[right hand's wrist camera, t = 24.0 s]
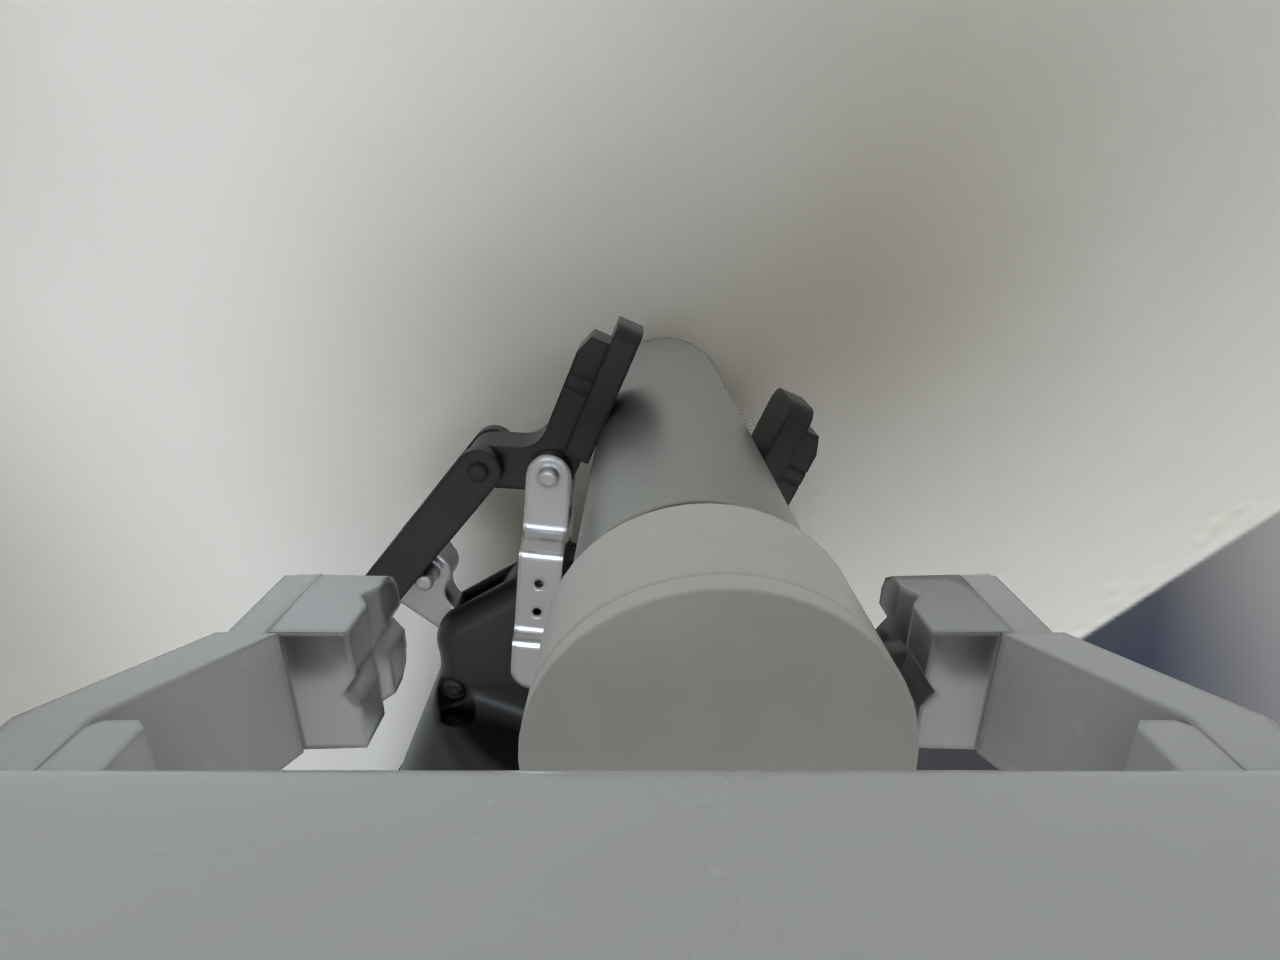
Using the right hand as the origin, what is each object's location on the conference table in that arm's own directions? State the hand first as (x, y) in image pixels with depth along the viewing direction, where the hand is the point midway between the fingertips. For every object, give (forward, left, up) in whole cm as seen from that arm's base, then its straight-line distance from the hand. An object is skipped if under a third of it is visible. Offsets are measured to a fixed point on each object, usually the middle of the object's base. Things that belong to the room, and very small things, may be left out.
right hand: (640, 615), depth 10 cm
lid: (0, +1, +2) cm, 2 cm away
